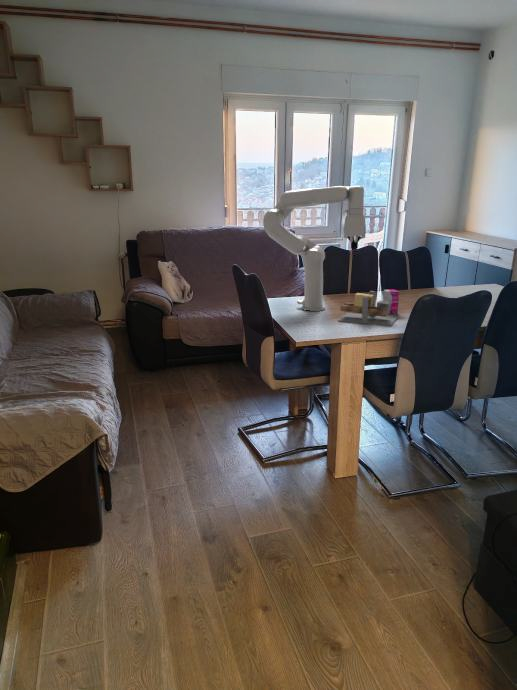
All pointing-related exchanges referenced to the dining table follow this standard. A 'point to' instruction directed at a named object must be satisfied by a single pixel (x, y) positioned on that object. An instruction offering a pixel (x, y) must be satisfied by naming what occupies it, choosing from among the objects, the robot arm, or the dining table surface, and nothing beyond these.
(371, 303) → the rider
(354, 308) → the beam
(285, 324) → the dining table surface
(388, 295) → the supplement box
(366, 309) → the stand
